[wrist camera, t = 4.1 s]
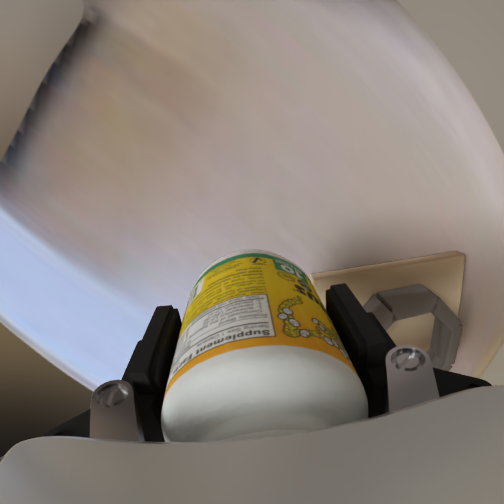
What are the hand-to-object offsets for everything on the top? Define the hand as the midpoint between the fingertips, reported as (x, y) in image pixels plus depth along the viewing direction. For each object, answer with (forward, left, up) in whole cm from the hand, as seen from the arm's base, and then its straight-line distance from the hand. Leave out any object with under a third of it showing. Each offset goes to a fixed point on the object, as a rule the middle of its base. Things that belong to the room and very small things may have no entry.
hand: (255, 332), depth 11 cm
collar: (+7, +10, -9) cm, 15 cm away
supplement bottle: (0, 0, -2) cm, 2 cm away
